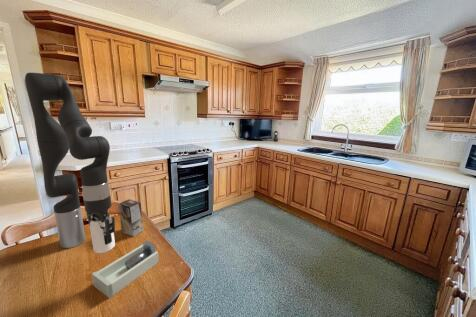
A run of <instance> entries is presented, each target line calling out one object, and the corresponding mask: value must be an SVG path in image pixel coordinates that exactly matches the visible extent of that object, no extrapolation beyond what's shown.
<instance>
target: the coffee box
mask: <svg viewBox="0 0 476 317" xmlns="http://www.w3.org/2000/svg"><path fill="white" fill-rule="evenodd" d="M141 204H142V203H141V202H140V201H136V200H132V199H126V200H124V201H122V202H119V203H118V210H119V220H120V226H121V233H123V234H126V235H127V236H131V237H135V236H136V235H139V234H140V233H142V232H143V231H144V228H143V227H144V225H143V215H142V205H141Z"/></svg>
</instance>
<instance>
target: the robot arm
mask: <svg viewBox="0 0 476 317" xmlns="http://www.w3.org/2000/svg"><path fill="white" fill-rule="evenodd" d="M24 84H25V88H26V93H27V96H28V101H29V103H30V107H31V112H32V116H33V120H34V125H35V126H34V128H35V135H36V140H37V145H38V146H37V147H38V151H39V155H40V159H41V166H42V172H43V184H44V191H45V193H46V196H48V198H50V199H51V198H58V197H63V196H66V197H65V198H63V199H61V200H59V201H57V202H56V203H55V204H54V205H53V212H54V217H55V223H56V228H57V235H58V239H59V244H60V247H61V249H62V248H63V249H71V248H74V247H78V246H79V245H81V244H82V243H84V242H85V241H86V235H85V227H84V226H85V225H84V221H83V220H84V219H83V214H82V208H81V202H80V195H79V194H80V193H79V183H78V178H77V176H76V174H74V173H66V174H58V175H57V174H55V173H56V170H57V169H58V167H59V165H60V163H62V161H63V160H64V159H65V157H66V156H67V154H68V152H69V153H70V155H71V156H72V157H73V158H74V159H76V160H79V161H81V160H82V161H84V160H90V159H94V160H93V162H91V163H89V164H87V165H85V166H83V167H81V169H80V171H79V172H80V179H81V187H82V188H81V191H82V193H81V194H82V198H83V205H84V211H85V213H86V216H87V221H88V225H89V227H90V222H91V220H90V219H91V218H92V220H93V219H95V221H101V222H104V221H105V222H104V223H105V227H102V226H100V229H103V235H104V241H105V244H106V245H107V244H109V243H111V242H112V237H111V233H113V232H114V233H115V232H116V225H115V224H116V222H115V221H116V220H115V216H110V217H109V215H110V213H109V211H108V210H109V209H110V208H111V207H112V197H111V190H110V186H109V181H108V180H109V179H108V174H107V173H108V172H107V167H108V162H109V156H110V152H111V148H110V147H111V146H110V143H109V141H108V139H107V138H106V137H104V136H102V135H95V136H94V135H93V136H92V133H93V129H92V127H91V126H90V124H89V122H88V121H87V119H86V118H85V117H84V115H83V113H82V112H81V110H80V108H79V105H78V102H77V101H76V98H75V96H74V93H73V91H72V90H71V87H70V85H69V83H68V82H67V80H66V79H65V77H63V76H62V75H58V74H51V73H41V72H27V73H25V75H24ZM44 101H49V102H50V101H51V102H52V101H55V102H56V101H57V102H59V101H62V102H63V103H62V106H61V107H60V109H59V111H58V113H57V120H58V121H57V120H56V119H54V117H53V116H52V115H51V114H50V113H49V111H48V110H47V109H46V106H45V103H44ZM99 225H100V223H99ZM104 228H105V229H104Z"/></svg>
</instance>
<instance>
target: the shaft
mask: <svg viewBox="0 0 476 317" xmlns="http://www.w3.org/2000/svg"><path fill="white" fill-rule="evenodd" d="M142 245H143V251H141V252H140V253H138V254H137V255H135V256H133V257H132V258H130V259H129V260H127V261H126V262H125V266H126V268H127V270H129V269H131V268H132V267H134V266H135V265H137V264H138V263H140V262H141V261H143V260H144V259H146V258H147V257H149V256H150V255H152V254H153V253H155V252H156V245H155V243H153V242H151V241H149V240H146V241H144V242H142Z"/></svg>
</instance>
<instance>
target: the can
mask: <svg viewBox="0 0 476 317" xmlns="http://www.w3.org/2000/svg"><path fill="white" fill-rule="evenodd" d="M109 217H111V214H109ZM90 220H91V222H90V226H89V229H90V234H91V235H90V236H91V244H92V248H93V252H94V253H95V254H97V255H98V254H105V253H108V252H110V251H112V250H113V249H114V248H115V246H116V241H115V232H113V233H111V237H112V242H111V243H109V244H107V245H106V244H105V241H104V235H103V229H100V226H102V227H105V223H104V222H105V221H104V222H101V221H95V219H93V220H92V218H91V219H90ZM99 223H100V225H99ZM104 229H105V228H104Z"/></svg>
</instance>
